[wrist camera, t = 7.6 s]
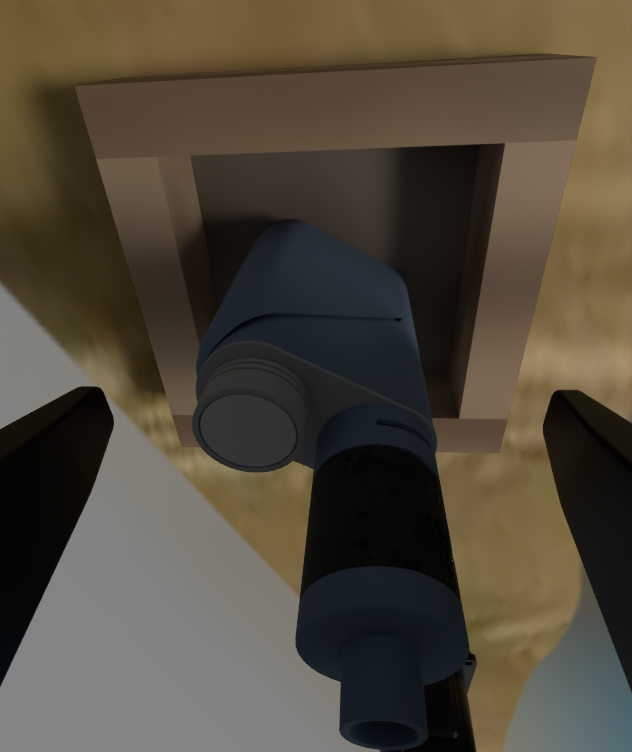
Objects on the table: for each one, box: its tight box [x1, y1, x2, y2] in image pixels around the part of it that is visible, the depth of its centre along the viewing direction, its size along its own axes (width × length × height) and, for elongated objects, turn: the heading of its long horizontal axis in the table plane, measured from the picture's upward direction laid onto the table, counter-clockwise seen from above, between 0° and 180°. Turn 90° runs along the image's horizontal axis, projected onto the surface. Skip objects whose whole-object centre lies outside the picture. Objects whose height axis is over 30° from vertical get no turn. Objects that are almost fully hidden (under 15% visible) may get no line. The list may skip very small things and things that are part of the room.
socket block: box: [74, 54, 597, 453], centre depth 14 cm, size 11×11×3 cm
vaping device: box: [192, 220, 469, 750], centre depth 10 cm, size 3×5×12 cm, turn 63°
